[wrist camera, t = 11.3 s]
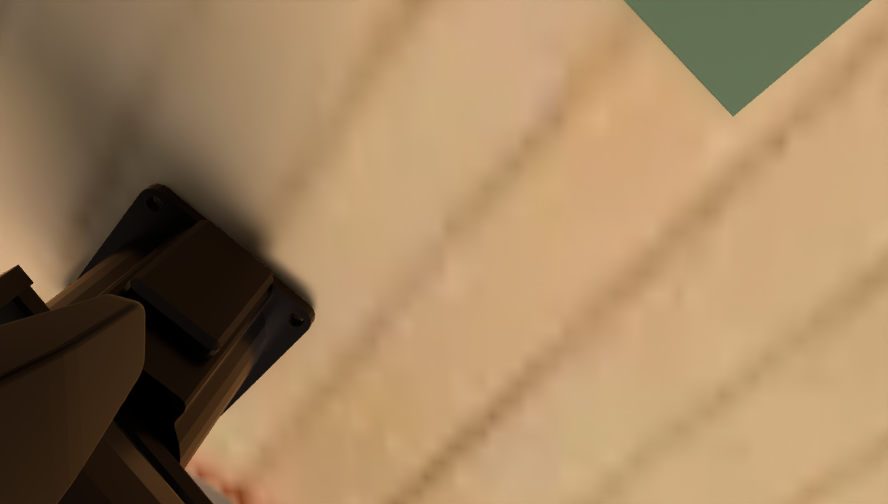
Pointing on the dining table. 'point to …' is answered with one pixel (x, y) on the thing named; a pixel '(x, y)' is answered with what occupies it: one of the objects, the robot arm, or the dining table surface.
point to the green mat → (742, 38)
